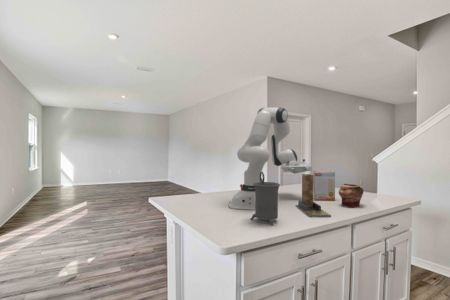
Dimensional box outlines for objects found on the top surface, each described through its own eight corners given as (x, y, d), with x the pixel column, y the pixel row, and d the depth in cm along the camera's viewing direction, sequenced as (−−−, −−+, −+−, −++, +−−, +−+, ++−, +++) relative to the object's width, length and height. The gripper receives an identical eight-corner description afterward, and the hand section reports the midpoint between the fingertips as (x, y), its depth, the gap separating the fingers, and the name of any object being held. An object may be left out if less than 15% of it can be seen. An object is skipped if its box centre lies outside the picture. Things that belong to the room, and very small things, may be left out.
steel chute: (309, 217, 135) (309, 209, 135) (295, 206, 160) (295, 200, 160) (331, 217, 136) (331, 209, 136) (313, 206, 161) (313, 200, 161)
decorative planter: (353, 202, 173) (353, 182, 173) (370, 206, 162) (370, 184, 162) (333, 205, 164) (333, 184, 164) (349, 209, 153) (350, 187, 153)
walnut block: (305, 207, 152) (305, 175, 152) (301, 205, 158) (302, 174, 158) (313, 207, 153) (313, 175, 152) (309, 205, 159) (309, 174, 158)
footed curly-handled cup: (286, 225, 121) (287, 174, 121) (258, 227, 118) (258, 175, 118) (272, 215, 140) (272, 170, 139) (247, 216, 137) (247, 171, 137)
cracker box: (332, 199, 183) (332, 171, 183) (335, 201, 177) (335, 171, 177) (312, 198, 185) (313, 170, 184) (315, 200, 179) (315, 171, 178)
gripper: (280, 163, 185) (284, 165, 171) (308, 162, 184) (314, 164, 171) (280, 171, 185) (285, 174, 171) (308, 171, 185) (314, 173, 171)
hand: (300, 169), depth 171 cm, fingers open, 8 cm apart
